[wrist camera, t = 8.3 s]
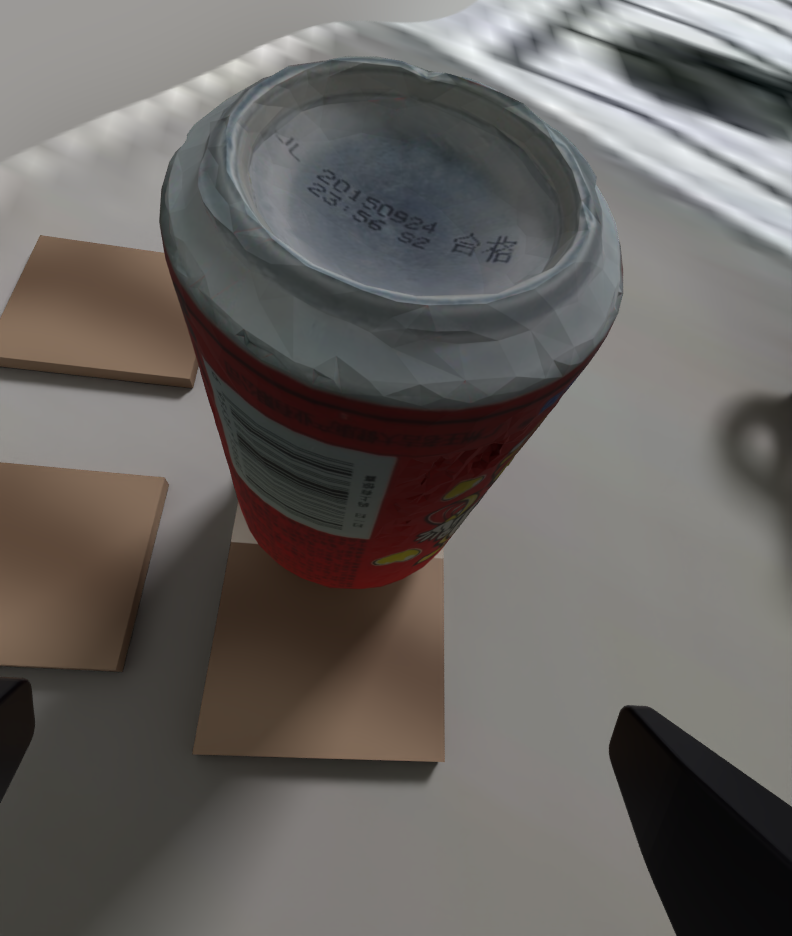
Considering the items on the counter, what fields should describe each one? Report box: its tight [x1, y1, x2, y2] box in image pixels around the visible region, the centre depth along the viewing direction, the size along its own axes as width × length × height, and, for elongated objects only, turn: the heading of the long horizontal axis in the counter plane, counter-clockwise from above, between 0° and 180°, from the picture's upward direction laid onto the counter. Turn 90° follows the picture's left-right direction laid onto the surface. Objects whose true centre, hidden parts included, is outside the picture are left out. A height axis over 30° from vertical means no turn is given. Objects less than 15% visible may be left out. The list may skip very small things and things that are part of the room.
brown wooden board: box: [192, 501, 445, 762], centre depth 18 cm, size 16×7×1 cm, turn 178°
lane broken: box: [0, 235, 199, 672], centre depth 18 cm, size 16×7×1 cm, turn 178°
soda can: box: [159, 56, 623, 589], centre depth 13 cm, size 7×7×12 cm
